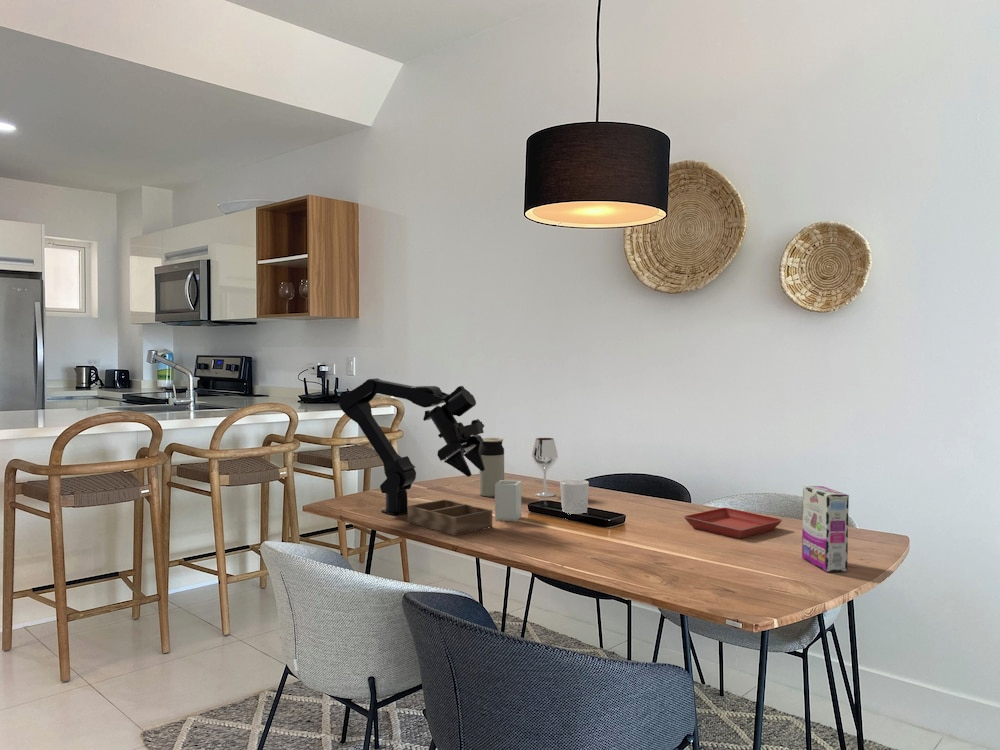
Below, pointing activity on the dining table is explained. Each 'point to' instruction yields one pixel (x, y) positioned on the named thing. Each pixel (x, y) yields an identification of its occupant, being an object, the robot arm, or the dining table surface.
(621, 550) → the dining table surface
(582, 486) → the white cup
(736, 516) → the plant saucer
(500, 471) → the travel mug
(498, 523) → the dining table surface
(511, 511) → the box
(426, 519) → the crate
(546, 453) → the wineglass
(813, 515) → the candy bar box
